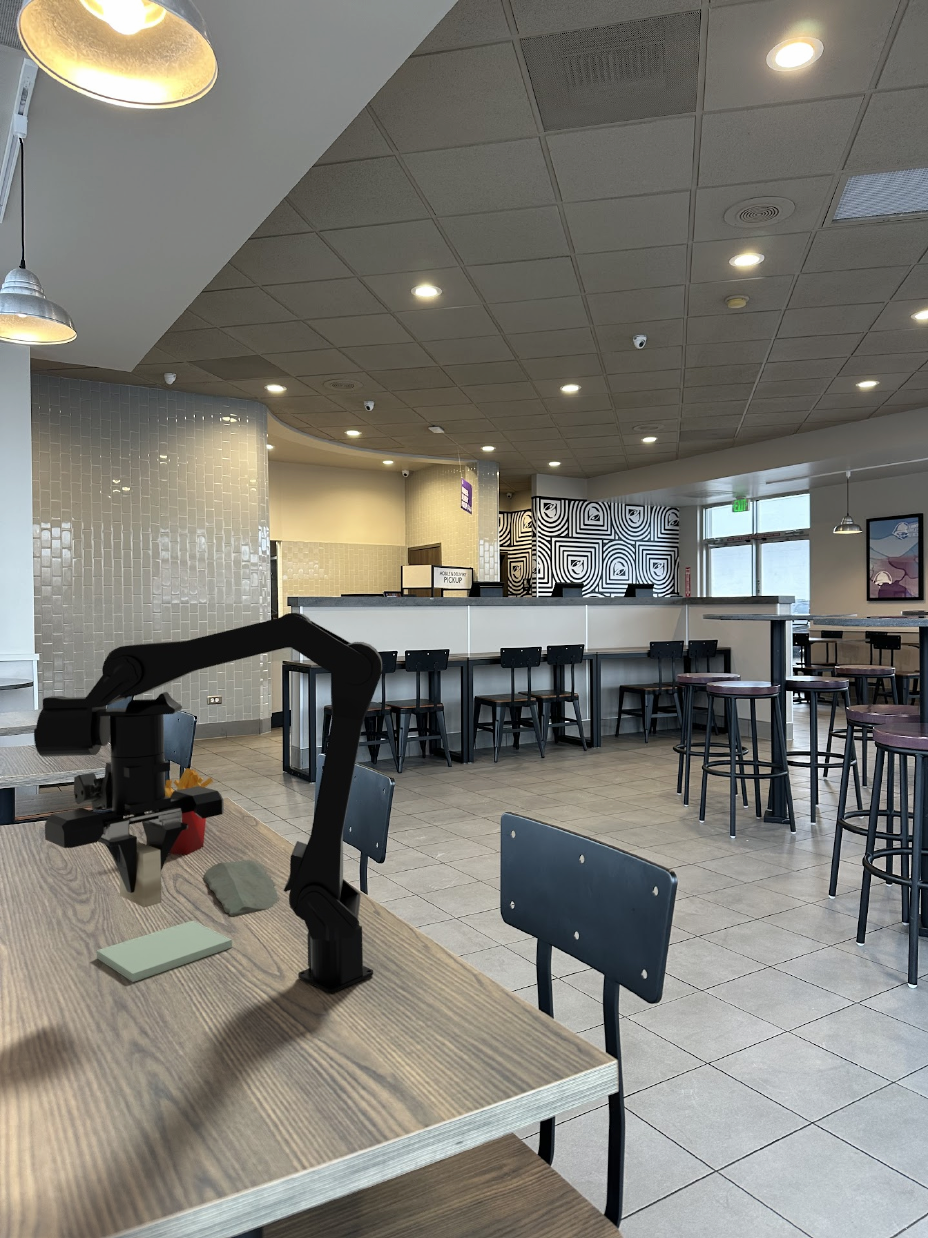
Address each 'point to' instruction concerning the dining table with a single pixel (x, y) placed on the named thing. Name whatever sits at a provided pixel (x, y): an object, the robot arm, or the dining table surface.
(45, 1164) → the dining table surface
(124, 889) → the beige flat box
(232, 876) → the stone slab
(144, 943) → the mat
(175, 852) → the french fries
